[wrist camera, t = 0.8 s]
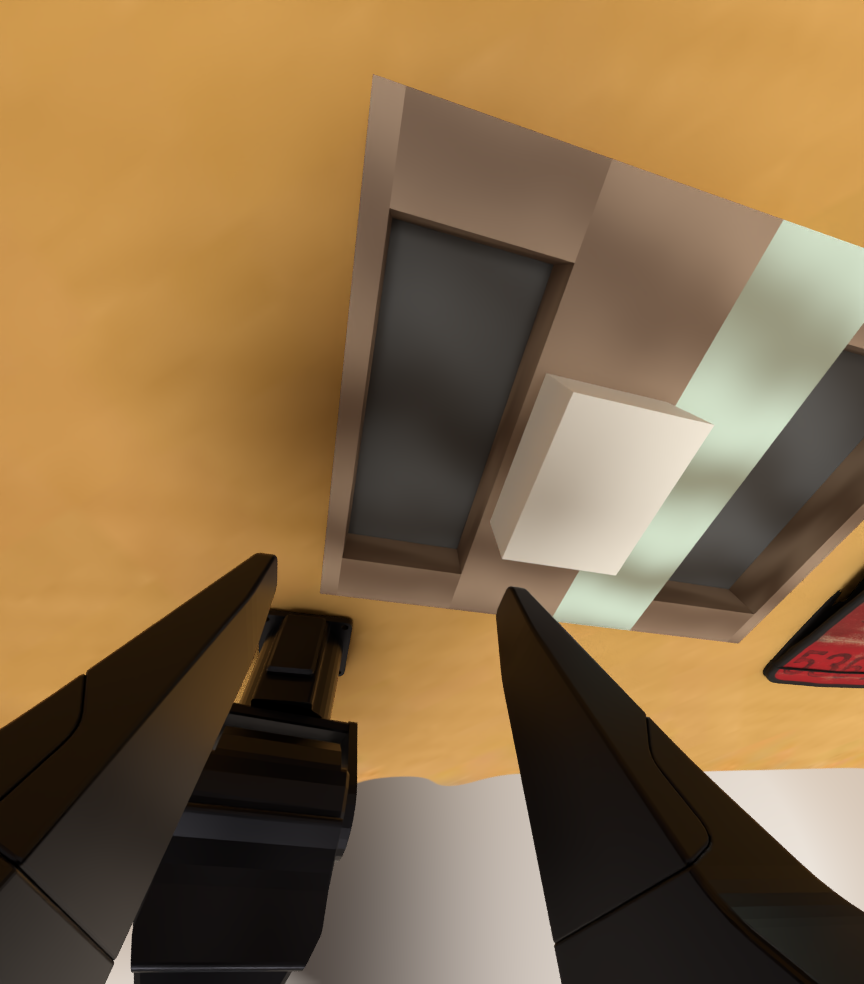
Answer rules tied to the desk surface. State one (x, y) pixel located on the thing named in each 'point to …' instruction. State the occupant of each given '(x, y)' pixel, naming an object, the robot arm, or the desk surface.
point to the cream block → (591, 475)
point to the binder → (825, 647)
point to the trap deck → (585, 372)
